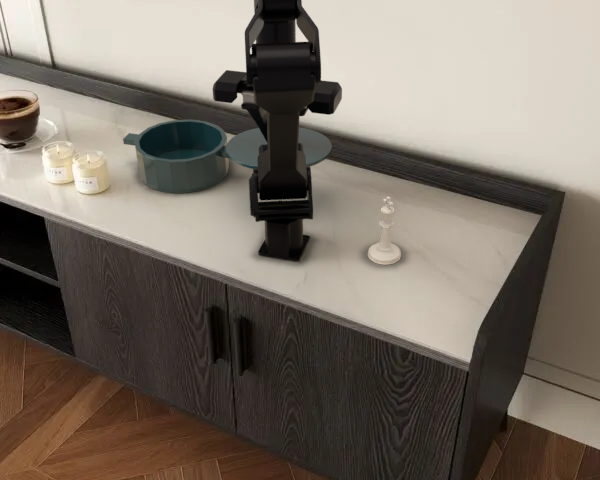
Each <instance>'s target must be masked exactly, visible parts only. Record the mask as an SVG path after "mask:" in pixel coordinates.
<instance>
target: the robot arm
mask: <svg viewBox="0 0 600 480" xmlns="http://www.w3.org/2000/svg"><path fill="white" fill-rule="evenodd" d="M302 3H303V1H302V0H253V13H254V15H253V16H252V18H251V20H250V21H249V23H248V24H247V26H246V28H245V29H244V50H245V51H244V52H245V54H244V55H245V71H239V70H230V69H229V70H228V69H226V70H225V71H224V72H223V73H222V74H221V75H220V76H219V77H218V78H217V80H216V81H214V83H213V85H212V99H213V101H215V102H218V103H226V104H232V103H234V101H236V99H238V94H240V95H241V96H242V103H241V105H240V108H241V109H242V110H244V111H247V113H248V114H249V116H250V117H251V118H252V120H253V121H254V123H255V124H256V126H257V128H259V129H260V131H261V133H262V134H263V136H264V138H265V140H266V142H267V143H268V144H266V145H261V146H260V147H259V156H258V157H257V159H258V169H252V173H251V176H250V177H249V178H248V189H249V207H250V208H249V210H250V211H249V212H250V216H251V217H253V218H255V222H256V223H259V222H264V240H263V242H262V243H261V246H260V247H259V249H258V251H257V254H258V256H261V257H267V258H272V259H273V258H274V259H278V260H279V259H280V260H286V261H292V262H300V261H301V259H302V257H303V255H304V253H305V251H306V248H307V247H308V244H309V243H310V240H311V236H310V235H308V234H304V220H313V219H314V202H313V201H314V200H313V183H312V182H313V181H312V168H311V166H310V167H306V155H305V154H304V148H303V145H302V144H301V143H298V137H299V127H300V117H304V116H305V115H306V114H307V112H311V113H312V114H319V115H334V114H335V112H336V110H337V109H338V107H339V105H340V103H341V101H342V99H343V88H342V86H341V84H340V83H339V81H330V80H322V58H321V57H322V56H321V46H320V31H319V27H318V26H317V24H316V23H315V22H314V20H313V19H312V18H311V16H310V15H309V14H308V12H307V10H305V8H304V7H303V4H302ZM296 25H297V28H298V29H299V31H300V32H301V33H302V35H304V38H305V39H306V40H307V41H297V37H296V36H297V33H296V31H297V29H296ZM308 110H309V111H308Z"/></svg>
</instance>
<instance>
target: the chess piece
mask: <svg viewBox="0 0 600 480" xmlns="http://www.w3.org/2000/svg"><path fill="white" fill-rule="evenodd" d="M391 198H392V197H390V196H389V195H388V196H386V198H383V199H382V203H383V204H385V205H383V206H382V207H381V208H380V214H381V218H382V219H381V220H380V221H379V222H378V225H379V227H380V228H382V230H381V236H380V240H379V242H376V243H374V244H372V245H371V246H369V248H368V251H367V257H368V259H369V260H370V261H371V262H372V263H375V264H378V265H381V266H382V265H385V266H387V265H392V264H396V263H397V262H399V261H400V259H401V257H402V253H401V249H400V248H399V247H398V245H396V244H394V243H392V242H391V230H390V229H391V228H393V227H394V226H395V223H394V221H393V220H392V218H393V216H394V214H395V208H394V202H392V201H391Z"/></svg>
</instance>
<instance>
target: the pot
mask: <svg viewBox="0 0 600 480" xmlns="http://www.w3.org/2000/svg"><path fill="white" fill-rule="evenodd" d="M122 142H123V145H127V146H134V148H135V154H136V160H137V166H138V173H139V178H140V180H141V182H142V183H143V184H144V185H146V186H147V187H149V188H151V189H152V190H155V191H158V192H162V193H168V194H189V193H196V192H200V191H203V190H206V189H210V188H212V187H214V186H216V185H217V184H219V183H220V182H222V181H223V180H224V179H225V178H226V177H227V176H228V173H229V168H230V160H229V159H230V158H229V157H228V155H227V153H226V145H227V143H228V137H227V135H226V132H225V130H224V129H223V128H221V127H220V126H218V124H215V123H212V122H209V121H207V120H199V119H174V120H169V121H164V122H163V121H162V122H159V123H157V124H154V125H151V126H149V127H147V128H146V129H144V130H143V131H142V132H140V133H131V132H129V133H127V135H126V136H124V138H122Z"/></svg>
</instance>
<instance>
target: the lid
mask: <svg viewBox="0 0 600 480" xmlns="http://www.w3.org/2000/svg"><path fill="white" fill-rule="evenodd" d="M298 143H301V144H302V145H303V148H304V154H305V155H306V167H310V168H311V167H313V166H316V165H318V164H320V163H322V162H323V161H325V160H326V159H327V158H329V156H331V153H332V151H333V150H332V149H333V148H332V147H333V146H332V143H331V141H330V139H329V138H328V137H327V136H325V135H324V134H323V133H320V132H319V131H316V130H313V129H310V128H305V127H300V126H299V137H298ZM266 144H268V143H267V142H266V140H265V138H264V136H263V134H262V133H261V131H260V129H259V127H256V128H252V129H248V130H245V131H242V132H240V133H238V134H236V135H234V136H232V137H231V138H230V139H229V140H228V141H227V145H226V153H227V155H228V157H229V159H230V161H232V162H234V163H235V164H237V165H239V166H241V167H244V168H248V169H251V170H253V169H258V159H257V157H258V156H259V147H260V146H261V145H266Z"/></svg>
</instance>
